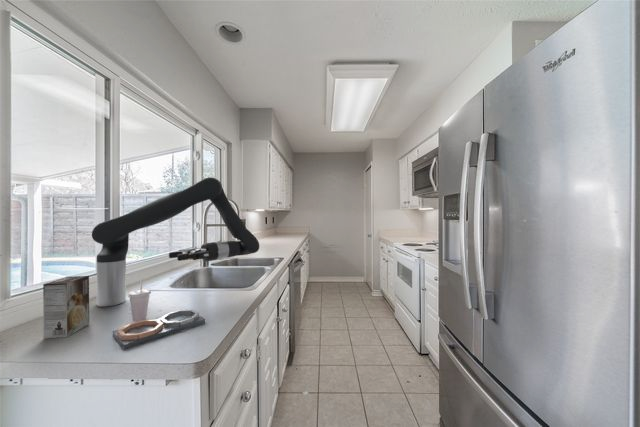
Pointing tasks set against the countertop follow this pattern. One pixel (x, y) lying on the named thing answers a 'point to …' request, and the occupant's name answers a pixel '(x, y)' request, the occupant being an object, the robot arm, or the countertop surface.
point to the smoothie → (139, 303)
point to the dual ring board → (160, 334)
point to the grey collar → (182, 322)
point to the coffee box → (65, 306)
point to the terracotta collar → (143, 334)
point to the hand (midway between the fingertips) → (173, 256)
